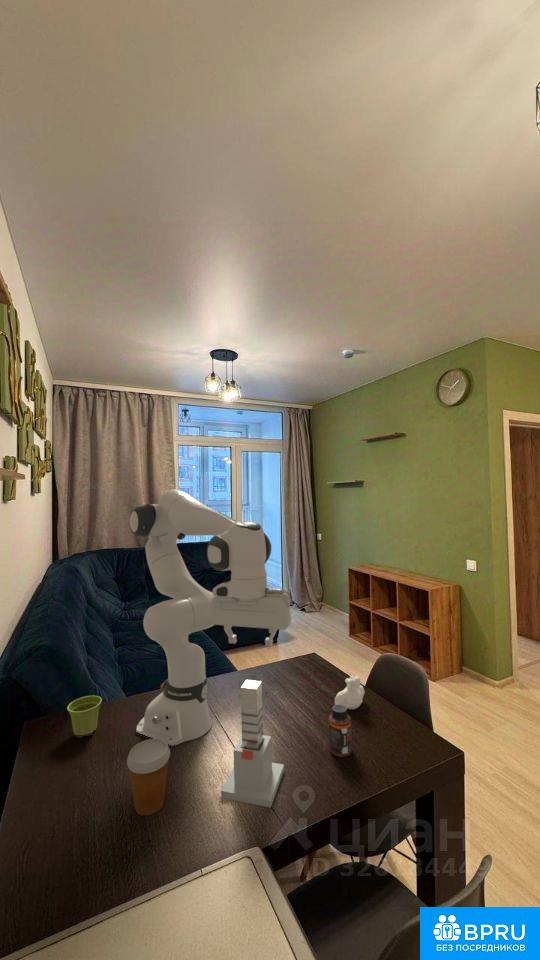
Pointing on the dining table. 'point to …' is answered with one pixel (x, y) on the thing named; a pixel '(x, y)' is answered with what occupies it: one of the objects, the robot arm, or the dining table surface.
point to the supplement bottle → (340, 731)
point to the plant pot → (84, 714)
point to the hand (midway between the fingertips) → (250, 644)
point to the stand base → (253, 775)
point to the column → (252, 715)
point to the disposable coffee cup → (148, 774)
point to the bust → (351, 693)
